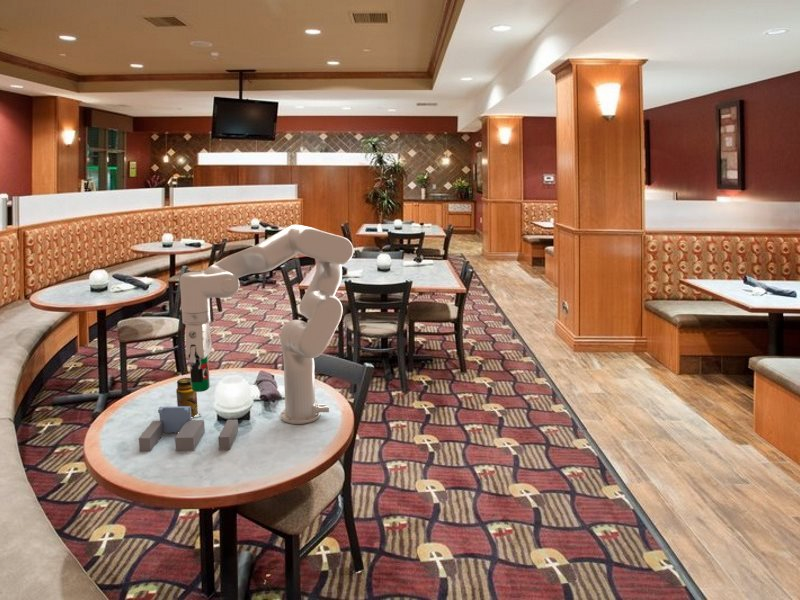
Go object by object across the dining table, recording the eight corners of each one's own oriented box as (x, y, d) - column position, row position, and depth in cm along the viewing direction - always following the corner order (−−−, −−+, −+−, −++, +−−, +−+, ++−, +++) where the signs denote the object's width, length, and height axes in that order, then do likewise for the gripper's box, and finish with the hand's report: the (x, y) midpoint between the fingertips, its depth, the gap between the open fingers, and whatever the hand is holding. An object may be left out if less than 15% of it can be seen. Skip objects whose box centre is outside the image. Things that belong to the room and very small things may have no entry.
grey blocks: (239, 430, 188) (237, 405, 186) (229, 450, 176) (228, 423, 174) (155, 431, 187) (153, 406, 185) (139, 451, 174) (137, 424, 173)
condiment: (201, 416, 198) (199, 381, 196) (174, 422, 194) (171, 386, 191) (195, 409, 204) (193, 374, 202) (168, 414, 200) (166, 379, 197)
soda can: (210, 385, 180) (208, 346, 178) (208, 392, 175) (206, 351, 173) (192, 386, 179) (190, 346, 177) (190, 392, 174) (187, 352, 172)
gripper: (202, 324, 165) (206, 389, 169) (216, 309, 181) (219, 368, 185) (173, 324, 164) (178, 389, 168) (190, 309, 181) (194, 368, 185)
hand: (199, 377), depth 177 cm, fingers closed on soda can, 5 cm apart
